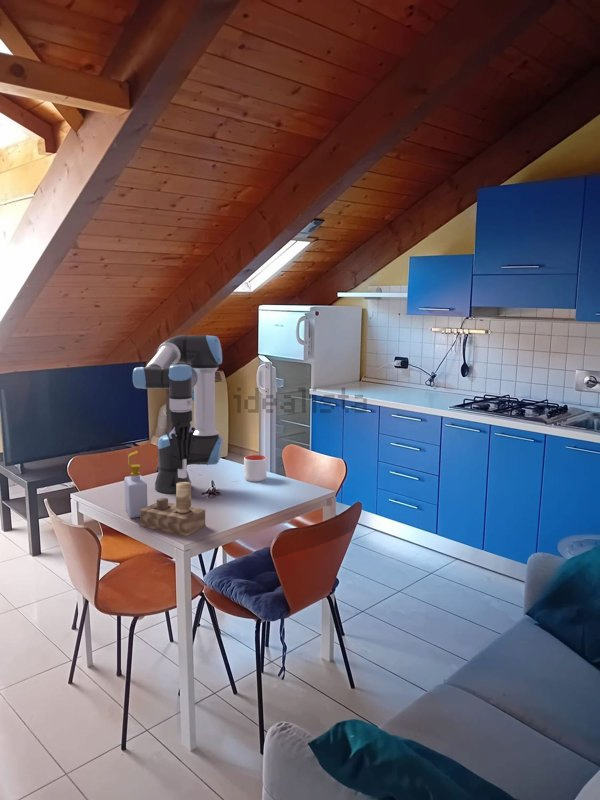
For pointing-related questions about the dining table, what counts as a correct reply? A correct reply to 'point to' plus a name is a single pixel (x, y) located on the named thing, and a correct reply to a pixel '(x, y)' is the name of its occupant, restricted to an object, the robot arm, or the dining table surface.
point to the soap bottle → (135, 491)
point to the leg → (183, 497)
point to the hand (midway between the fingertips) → (182, 477)
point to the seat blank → (171, 518)
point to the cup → (255, 468)
